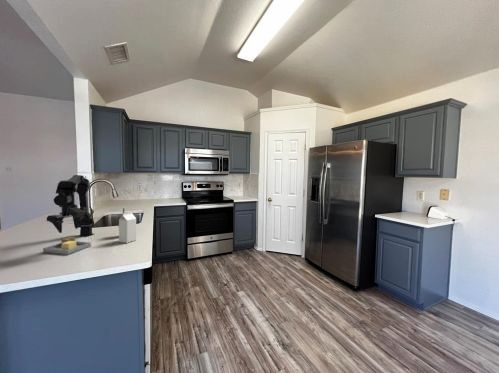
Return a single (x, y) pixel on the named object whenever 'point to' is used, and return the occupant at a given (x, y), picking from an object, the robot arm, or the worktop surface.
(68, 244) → the mustard block
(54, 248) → the tray
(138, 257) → the worktop surface
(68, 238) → the walnut block
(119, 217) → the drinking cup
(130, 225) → the milk carton
